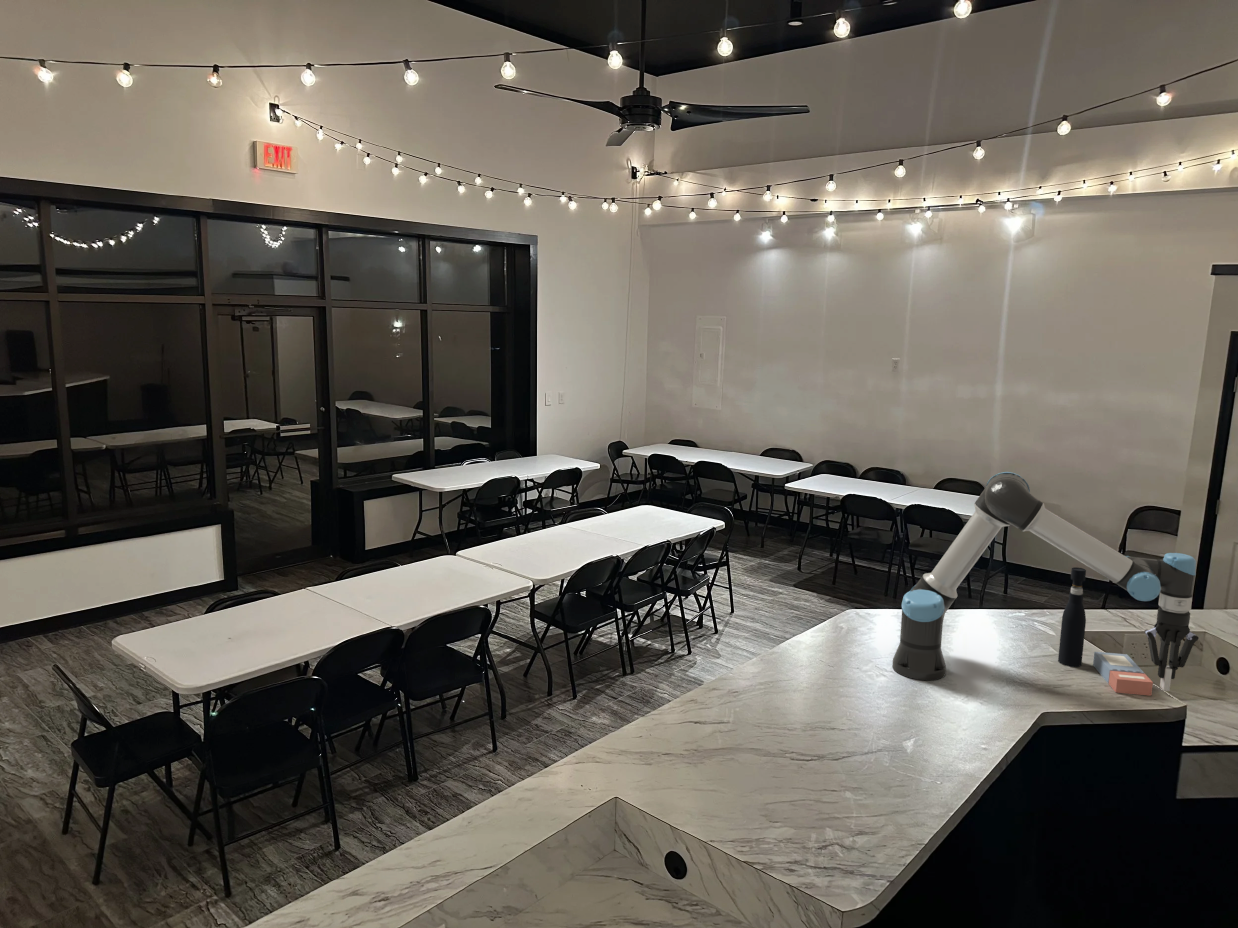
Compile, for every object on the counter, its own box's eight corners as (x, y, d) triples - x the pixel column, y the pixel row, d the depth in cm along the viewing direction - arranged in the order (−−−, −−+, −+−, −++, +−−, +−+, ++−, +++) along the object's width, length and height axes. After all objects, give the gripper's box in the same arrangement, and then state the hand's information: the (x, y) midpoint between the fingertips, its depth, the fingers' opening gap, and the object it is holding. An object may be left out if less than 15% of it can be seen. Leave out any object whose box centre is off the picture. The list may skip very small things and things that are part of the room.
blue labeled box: (1108, 683, 239) (1109, 669, 239) (1092, 664, 253) (1094, 651, 252) (1142, 686, 237) (1144, 672, 237) (1125, 667, 251) (1127, 654, 250)
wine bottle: (1085, 667, 251) (1095, 572, 246) (1064, 666, 251) (1073, 572, 246) (1074, 658, 257) (1083, 566, 252) (1054, 658, 257) (1062, 565, 253)
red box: (1115, 692, 233) (1117, 678, 233) (1108, 683, 239) (1110, 670, 238) (1151, 695, 231) (1152, 681, 230) (1143, 686, 237) (1144, 673, 236)
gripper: (1153, 611, 227) (1143, 691, 231) (1207, 615, 224) (1196, 696, 228) (1143, 602, 234) (1134, 680, 238) (1194, 606, 231) (1185, 685, 235)
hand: (1164, 688), depth 233 cm, fingers closed
